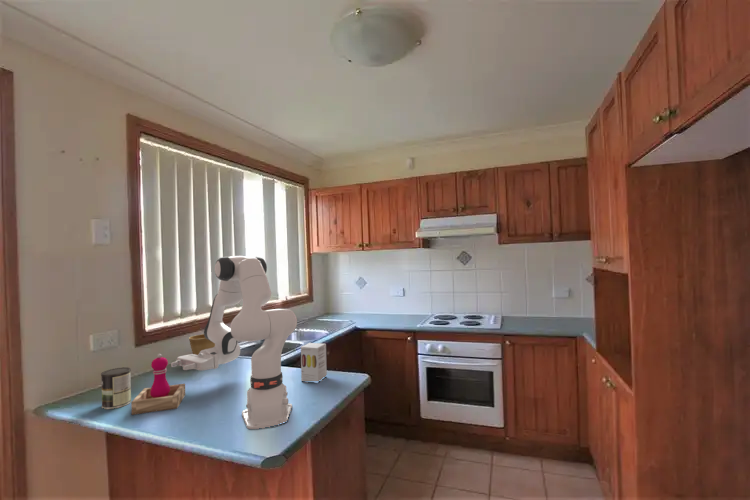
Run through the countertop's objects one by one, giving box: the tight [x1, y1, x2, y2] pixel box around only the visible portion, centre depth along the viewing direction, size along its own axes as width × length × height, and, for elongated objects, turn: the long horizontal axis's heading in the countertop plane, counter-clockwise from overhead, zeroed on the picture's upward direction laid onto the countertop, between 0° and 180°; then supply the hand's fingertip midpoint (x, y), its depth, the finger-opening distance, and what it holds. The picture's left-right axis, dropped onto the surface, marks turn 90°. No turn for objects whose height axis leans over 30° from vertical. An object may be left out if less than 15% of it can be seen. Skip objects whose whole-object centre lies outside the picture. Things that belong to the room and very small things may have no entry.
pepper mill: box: [150, 353, 170, 398], centre depth 154 cm, size 7×7×20 cm
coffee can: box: [100, 366, 132, 410], centre depth 155 cm, size 10×10×14 cm
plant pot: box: [188, 333, 215, 355], centre depth 213 cm, size 15×15×16 cm
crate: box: [130, 383, 186, 416], centre depth 153 cm, size 16×16×5 cm
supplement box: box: [300, 342, 328, 381], centre depth 178 cm, size 10×9×17 cm
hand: (177, 366), depth 160 cm, fingers open, 8 cm apart
